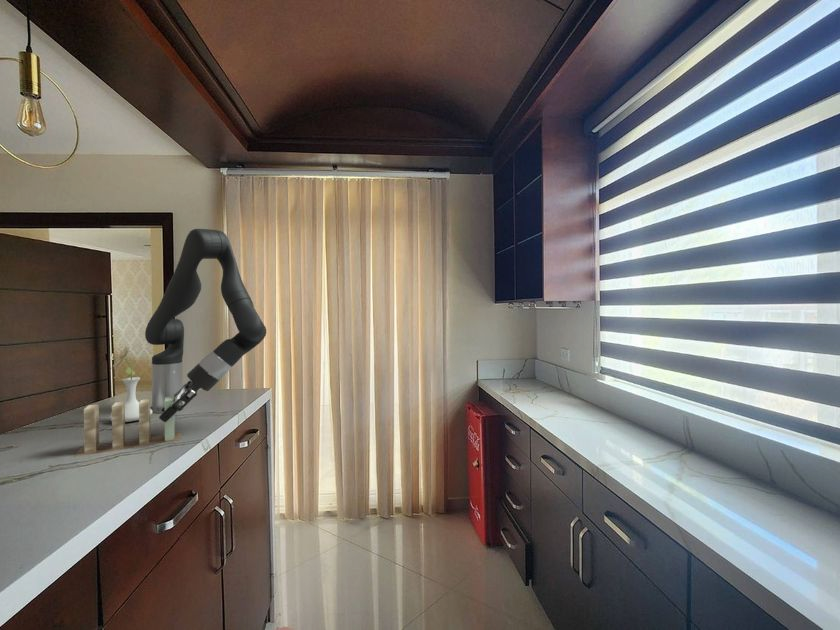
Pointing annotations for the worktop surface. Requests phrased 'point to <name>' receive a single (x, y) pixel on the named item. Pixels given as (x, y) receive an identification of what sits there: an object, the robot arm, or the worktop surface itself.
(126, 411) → the flower in vase
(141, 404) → the domino
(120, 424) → the domino
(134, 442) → the board
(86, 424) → the end domino
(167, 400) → the green domino
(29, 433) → the worktop surface
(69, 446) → the worktop surface
